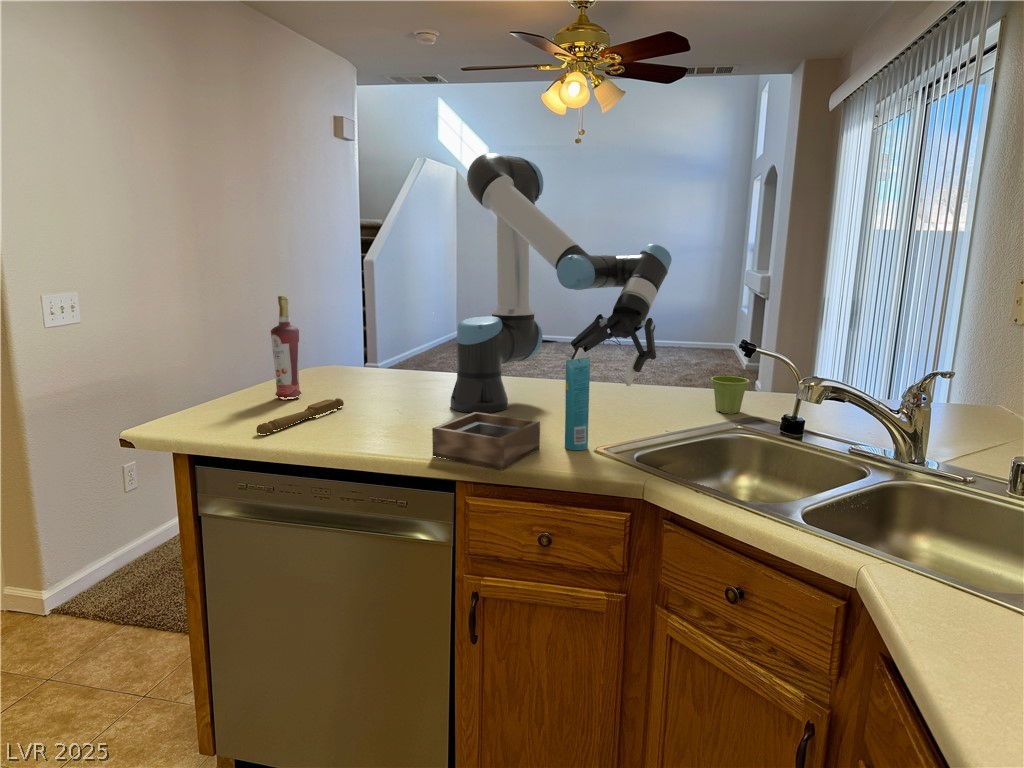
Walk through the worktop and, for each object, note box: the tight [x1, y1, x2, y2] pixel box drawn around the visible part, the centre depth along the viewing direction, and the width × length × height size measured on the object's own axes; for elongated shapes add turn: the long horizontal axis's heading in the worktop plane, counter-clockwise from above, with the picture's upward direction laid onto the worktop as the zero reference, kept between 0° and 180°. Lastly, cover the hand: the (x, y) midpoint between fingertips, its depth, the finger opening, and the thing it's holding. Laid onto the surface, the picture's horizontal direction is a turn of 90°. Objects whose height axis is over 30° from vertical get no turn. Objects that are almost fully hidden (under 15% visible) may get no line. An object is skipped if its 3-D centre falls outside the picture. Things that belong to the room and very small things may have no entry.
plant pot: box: [710, 375, 750, 415], centre depth 177 cm, size 9×9×9 cm
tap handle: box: [256, 397, 345, 434], centre depth 164 cm, size 3×3×30 cm
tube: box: [564, 356, 591, 451], centre depth 142 cm, size 7×5×19 cm, turn 140°
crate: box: [431, 412, 541, 471], centre depth 139 cm, size 16×16×6 cm
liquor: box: [270, 295, 302, 398], centre depth 184 cm, size 7×7×28 cm
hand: (597, 378), depth 144 cm, fingers open, 13 cm apart
